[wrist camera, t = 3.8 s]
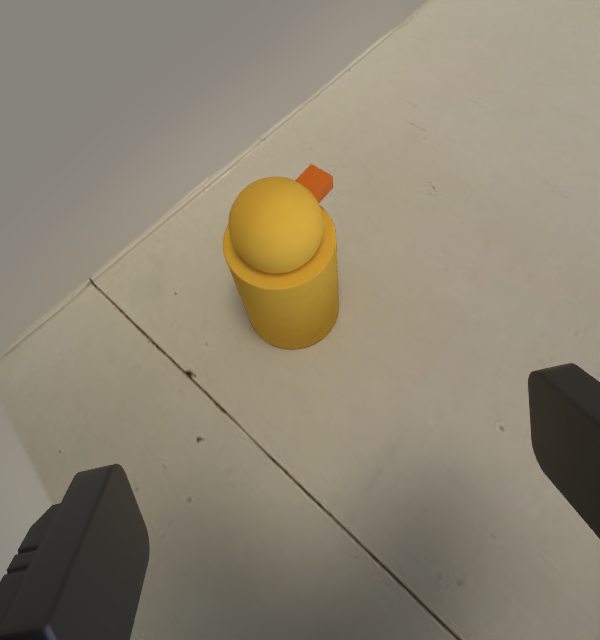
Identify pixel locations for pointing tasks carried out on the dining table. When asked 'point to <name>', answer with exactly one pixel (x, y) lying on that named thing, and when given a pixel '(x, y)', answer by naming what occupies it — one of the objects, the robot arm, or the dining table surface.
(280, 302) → the yellow duck figurine
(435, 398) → the dining table surface
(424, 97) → the dining table surface
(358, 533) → the dining table surface
